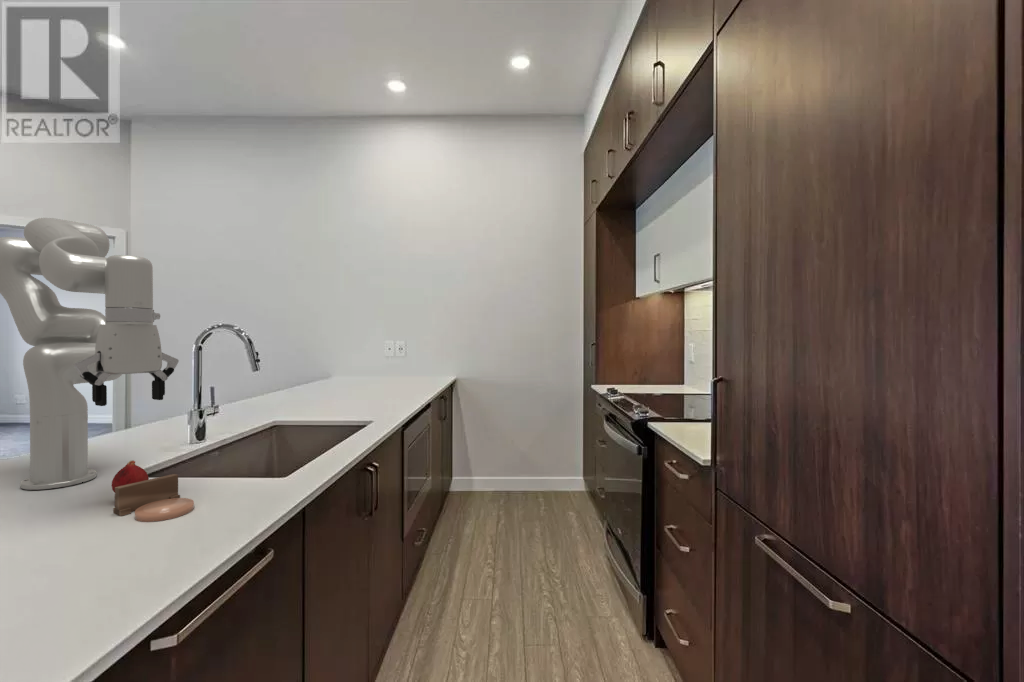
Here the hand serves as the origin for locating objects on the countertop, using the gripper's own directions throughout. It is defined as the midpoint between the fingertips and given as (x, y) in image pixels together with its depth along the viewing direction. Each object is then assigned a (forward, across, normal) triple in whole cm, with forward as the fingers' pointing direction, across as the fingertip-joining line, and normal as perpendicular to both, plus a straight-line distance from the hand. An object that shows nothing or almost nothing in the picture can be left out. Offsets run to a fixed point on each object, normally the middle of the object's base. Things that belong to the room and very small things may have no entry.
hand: (130, 402), depth 96 cm
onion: (+20, 0, 0) cm, 20 cm away
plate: (+20, 0, +13) cm, 24 cm away
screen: (+20, 0, +7) cm, 21 cm away
